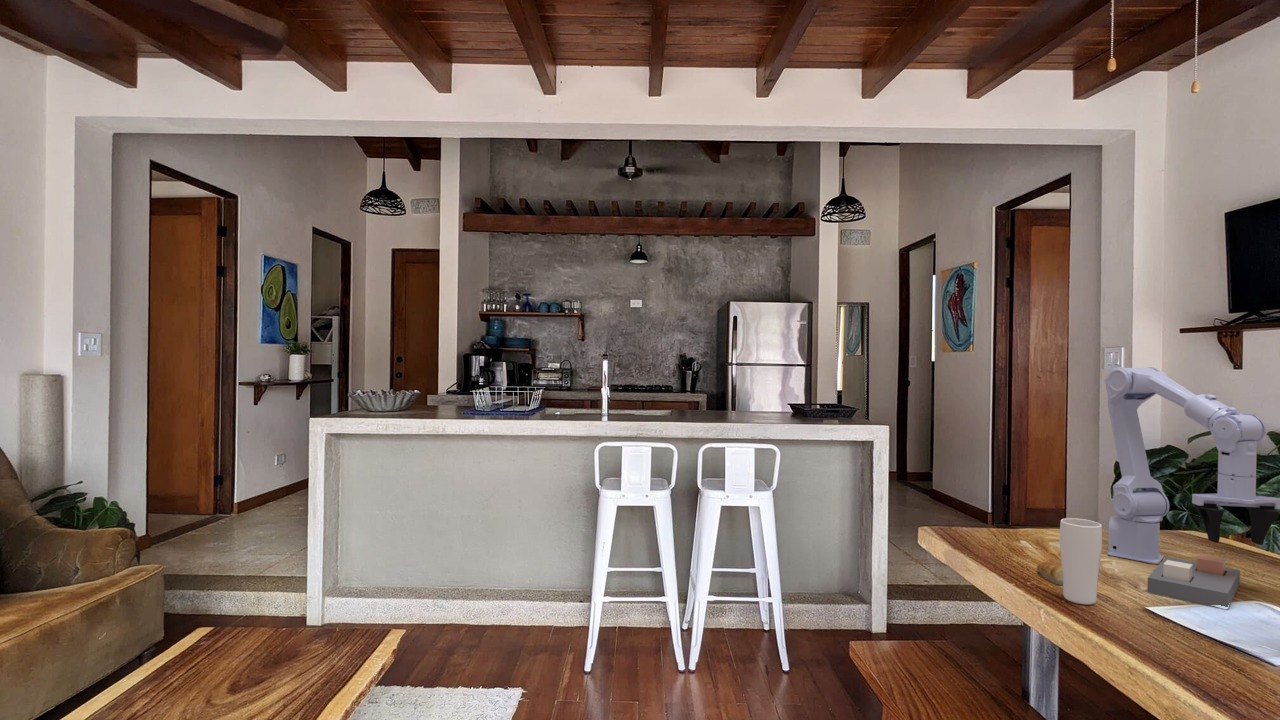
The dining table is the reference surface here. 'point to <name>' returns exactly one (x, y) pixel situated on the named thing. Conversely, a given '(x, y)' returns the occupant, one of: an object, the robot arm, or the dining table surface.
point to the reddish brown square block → (1211, 564)
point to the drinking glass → (1080, 559)
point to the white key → (1177, 570)
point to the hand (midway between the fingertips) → (1235, 542)
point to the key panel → (1196, 585)
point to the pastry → (1051, 572)
